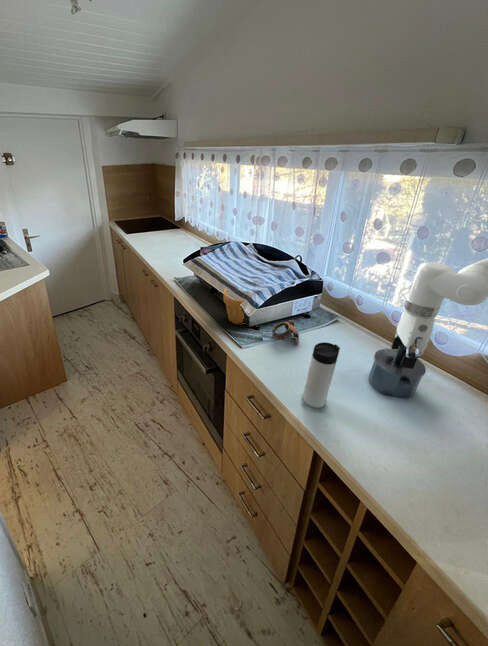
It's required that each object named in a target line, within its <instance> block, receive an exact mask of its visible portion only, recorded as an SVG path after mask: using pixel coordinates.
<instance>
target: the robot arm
mask: <svg viewBox="0 0 488 646" xmlns="http://www.w3.org/2000/svg"><path fill="white" fill-rule="evenodd" d="M417 268H418V269H417V271H416V273H415V277H414V278H413V282H412V285H411V288H410V290H409V293H408V295H407V298H406V301H405V304H404V306H403V312H402V314H401V316H400V318H399V320H398V321H397V327H396V332H395V334H394V338H393V341H392V344H391V348H390V349H394V350H398V347H399V345H405V346H406V347H407V348H406V355H404V357H403V359H402V362H401V364H400V366H401V367H404V368H410V369H413V368H414V365H415V363H416V361H417V359H418V360H420V359H419V358H421V357H422V356H423V355H424V353H425V350H426V349H427V347H428V344H429V341H430V339H431V336H432V333H433V329H434V325H435V319H436V317H437V316H438V313H439V312H440V309H441V306H442V304H443V301H444V299H447V300H449V301H452V302H454V303H457V304H459V305H463V306H477V305H481V304H482V303H484V302H485V301H486V300H487V299H488V257H487V258H484V259H482V260H479V261H476V262H473V263H472V264H468V265H467V266H464V267H463V268H462V269H460V270H459V271H458V272H455V270H454V268H453V267H451V266H450V265H448V264H445V263H441V262H434V261H433V262H432V261H430V262H429V261H428V262H424V263H421V264H420V265H419V266H418V267H417ZM410 349H411V350H414V352H411V351H410Z"/></svg>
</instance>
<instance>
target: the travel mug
mask: <svg viewBox="0 0 488 646" xmlns="http://www.w3.org/2000/svg"><path fill="white" fill-rule="evenodd" d="M340 350H341V348H340V346H338V344H333V343H332V342H318V343H316V344H315V345H314V346H313V350H312V355H311V359H310V364H309V368H308V371H307V375H306V382H305V385H304V390H303V395H302V401H303V403H304V404H305V405H306V406H308V408H309V407H310V408H312V409H317V410H319V409H323V408H324V407H325V406H326V401H327V399H328V394H329V390H330V386H331V383H332V380H333V376H334V373H335V369H336V366H337V362H338V357H339V353H340Z"/></svg>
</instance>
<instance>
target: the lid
mask: <svg viewBox="0 0 488 646" xmlns="http://www.w3.org/2000/svg"><path fill="white" fill-rule="evenodd" d="M406 348H407V347H406V346H405V345H399V347H398V350H396V349H394V350H393V349H392V348H388V349H386V348H383V349H378V350H376V351H375V352H374V354H373V360H375V362H376V364H377V365H378V366H379V367H381V368H382V369H383V370H385V371H387V372H389V373H391V374H393V375H396V376H399V377H403V378H410V379H415V378H420V377H421V378H422V377H424V376H425V375H426V372H427V368H426V365H424V364H423V362H422V361H421V360H420V359H417V361H416V363H415V365H414V368H413V369H410V368H404V367H401V366H400V364H401V362H402V359H403V357H404V355H406ZM411 350H412V349H410V352H411Z"/></svg>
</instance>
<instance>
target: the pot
mask: <svg viewBox="0 0 488 646" xmlns="http://www.w3.org/2000/svg"><path fill="white" fill-rule="evenodd" d="M385 349H389V348H387V347H385ZM393 350H395V349H393ZM373 360H374V359H373ZM421 380H422V377H420V378H415V379H410V378H403V377H399V376H396V375H393V374H391V373H389V372H387V371H385V370H383V369H382V368H381V367H379V366H378V365H377V364H376V362H375V360H374V361H373V363H372V366H371V369H370V371H369V374H368V382H369V384H370V386H371V387H372V388H373V389H374V390H375V391H376V392H378V393H380V394H382V395H384V396H386V397H390V398H391V397H392V398H397V399H401V400H402V399H403V400H407V399H410V398H412V397H413V396H414V395H415V393H416V390H417V388H418V386H419V384H420V382H421Z"/></svg>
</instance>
